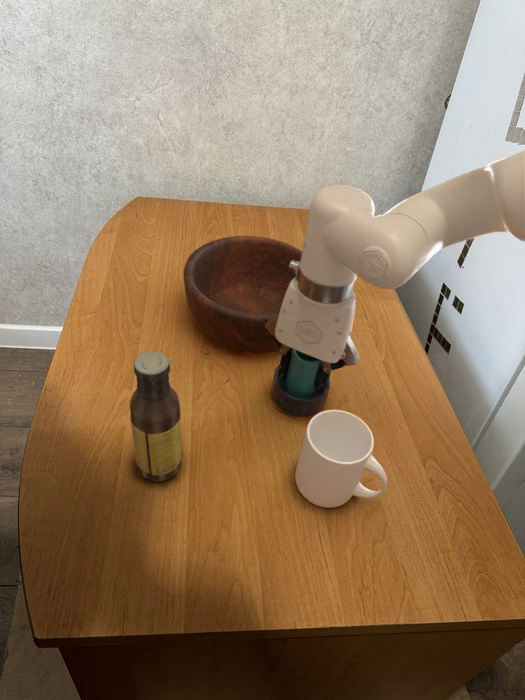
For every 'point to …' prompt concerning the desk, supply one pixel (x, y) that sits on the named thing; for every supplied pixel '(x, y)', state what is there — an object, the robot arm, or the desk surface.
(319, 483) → the mug
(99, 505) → the desk surface
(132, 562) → the desk surface
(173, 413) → the sauce bottle
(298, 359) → the cup
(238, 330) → the wooden bowl
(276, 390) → the bowl
